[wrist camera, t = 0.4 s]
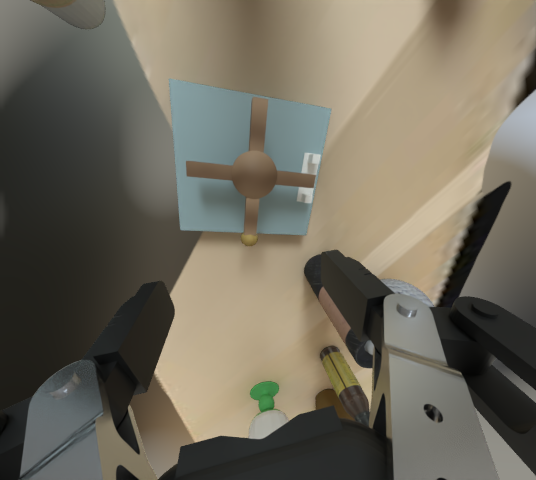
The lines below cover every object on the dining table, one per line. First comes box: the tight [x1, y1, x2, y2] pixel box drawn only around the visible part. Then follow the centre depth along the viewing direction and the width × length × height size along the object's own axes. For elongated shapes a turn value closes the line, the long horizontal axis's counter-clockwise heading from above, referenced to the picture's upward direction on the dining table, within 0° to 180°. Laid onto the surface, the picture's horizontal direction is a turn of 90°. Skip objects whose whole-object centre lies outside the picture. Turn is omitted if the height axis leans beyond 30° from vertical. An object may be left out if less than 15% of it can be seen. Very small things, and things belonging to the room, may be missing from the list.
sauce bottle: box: [320, 346, 370, 427], centre depth 47 cm, size 6×6×20 cm
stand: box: [169, 79, 331, 235], centre depth 30 cm, size 21×22×5 cm
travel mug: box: [304, 255, 374, 368], centre depth 34 cm, size 8×8×20 cm
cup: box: [248, 382, 289, 439], centre depth 51 cm, size 14×14×16 cm
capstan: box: [186, 97, 316, 246], centre depth 27 cm, size 19×17×5 cm
